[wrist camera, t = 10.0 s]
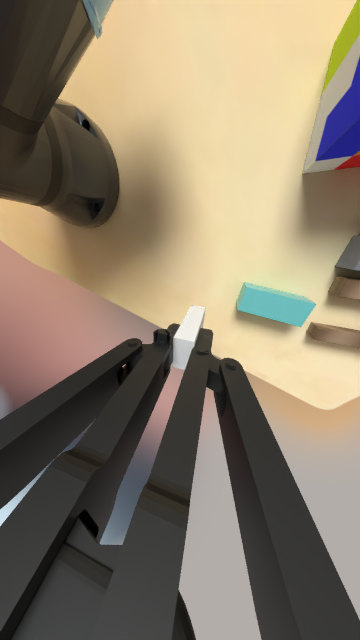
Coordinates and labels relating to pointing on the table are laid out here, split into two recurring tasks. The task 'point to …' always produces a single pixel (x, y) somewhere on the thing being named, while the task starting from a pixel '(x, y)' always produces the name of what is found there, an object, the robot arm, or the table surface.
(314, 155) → the puzzle toy
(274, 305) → the teal block
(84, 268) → the table surface
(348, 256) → the grey block
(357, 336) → the comb rack
